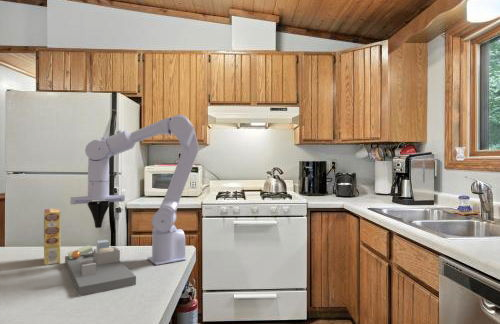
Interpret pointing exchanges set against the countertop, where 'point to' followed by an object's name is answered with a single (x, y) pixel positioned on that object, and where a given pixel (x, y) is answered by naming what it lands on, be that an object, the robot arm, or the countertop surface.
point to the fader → (102, 244)
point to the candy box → (52, 236)
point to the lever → (78, 257)
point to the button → (106, 250)
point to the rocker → (81, 251)
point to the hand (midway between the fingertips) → (98, 227)
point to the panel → (99, 272)
